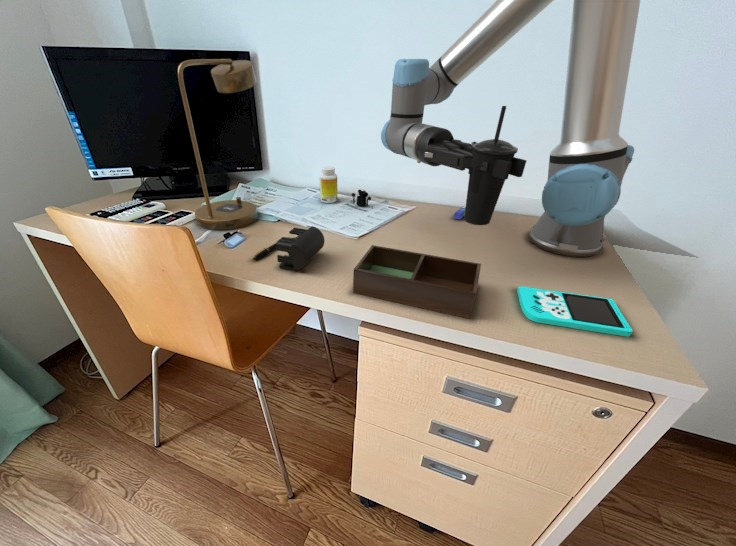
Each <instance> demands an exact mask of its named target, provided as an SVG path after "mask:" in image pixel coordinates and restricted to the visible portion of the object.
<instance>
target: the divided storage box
mask: <svg viewBox="0 0 736 546" xmlns="http://www.w3.org/2000/svg"><path fill="white" fill-rule="evenodd" d="M481 267H482V263H479V262H473V261H468V260H461V259H456V258H450V257H445V256H444V257H443V256H439V255H434V254H433V255H432V254H427V253H421V252H414V251H410V250H403V249H397V248H392V247H386V246H379V245H374V244H372V245H371V246H370V247H369V248H368V250H367V251H366V252H365V254H364V255H363V256H362V258H361V259H360V260H359V262H358V263H357V264H356V265H355V267H354V268H353V276H352V278H353V279H352V294H357V295H361V296H366V297H370V298H374V299H379V300H383V301H388V302H393V303H397V304H402V305H407V306H410V307H415V308H418V309H424V310H428V311H433V312H437V313H441V314H446V315H451V316H456V317H459V318H464V319H471V315H472V311H473V309H474V304H475V300H476V297H477V292H478V287H479V280H480V274H481Z"/></svg>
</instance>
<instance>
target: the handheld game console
mask: <svg viewBox="0 0 736 546" xmlns="http://www.w3.org/2000/svg"><path fill="white" fill-rule="evenodd" d="M516 293H517V297H518V301H519V306H520V310H521V312H522V313H523V315H524V316H525V317H526V318H527V319H528V320H530V321H532V322H534V323H538V324H545V325H551V326H557V327H565V328H570V329H577V330H582V331H587V332H595V333H600V334H601V333H602V334H608V335H613V336H614V335H615V336H619V337H620V336H621V337H627V338H629V337H630V336H631V335H632V334H633V329H632V327H631V325H630V324H629V322H628V320H627V319H626V318H625V316H624V314H623V313H622V311H621V309H620V308H619V306H618V305H617V303H616V301H615V300H614V299H612V298H608V297H601V296H594V295H586V294H579V293H572V292H566V291H565V292H564V291H559V290H552V289H551V290H549V289H544V288H543V289H542V288H536V287H529V286H521V285H520V286H518V288H517V291H516Z"/></svg>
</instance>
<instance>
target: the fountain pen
mask: <svg viewBox="0 0 736 546" xmlns="http://www.w3.org/2000/svg"><path fill="white" fill-rule="evenodd" d="M287 238H291V236H288V237H287ZM275 249H276V242H274V244H272V245H270V246H269V247H268V246H267V247H266V248H265V247H263V248H261V250H259V251H258V252H256V253H254V255H253V258H252V260H254V261H256V260H259V259H262V258H263V257H265V256H267V255H268V254H270V253H271V252H272V251H275Z"/></svg>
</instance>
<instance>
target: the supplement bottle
mask: <svg viewBox="0 0 736 546" xmlns="http://www.w3.org/2000/svg"><path fill="white" fill-rule="evenodd" d="M335 169H336V168H335V167H334V166H323V167H322V168H321V174H319V198H320V199H319V200H320V201H321V202H322V203H325V204H326V203H327V204H332V203H335V202H337V201H338V175H337V174H336V170H335Z"/></svg>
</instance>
